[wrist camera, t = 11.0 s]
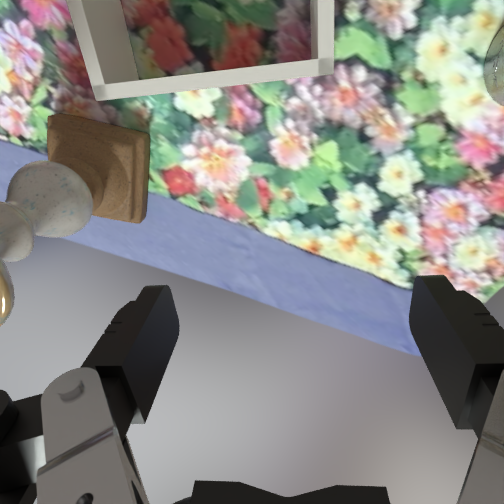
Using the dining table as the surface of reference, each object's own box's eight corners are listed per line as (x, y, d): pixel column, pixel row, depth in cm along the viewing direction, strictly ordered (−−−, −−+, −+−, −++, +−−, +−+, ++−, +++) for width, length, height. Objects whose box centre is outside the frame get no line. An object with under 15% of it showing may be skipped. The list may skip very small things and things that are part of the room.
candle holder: (151, 133, 39) (-4, 216, 18) (146, 219, 44) (23, 359, 23) (55, 111, 38) (-215, 170, 18) (62, 200, 44) (-138, 326, 23)
